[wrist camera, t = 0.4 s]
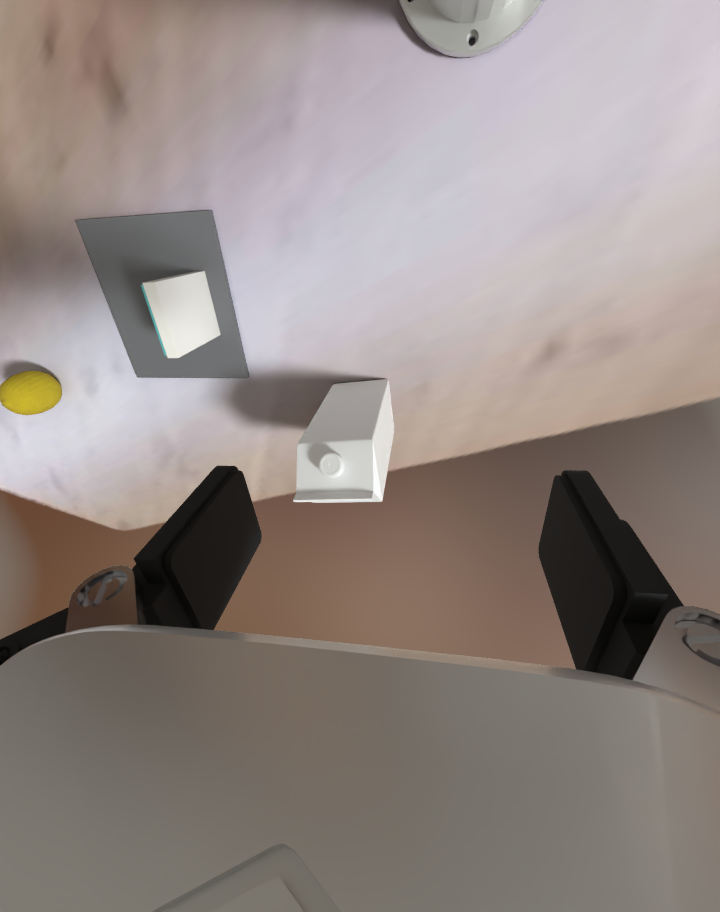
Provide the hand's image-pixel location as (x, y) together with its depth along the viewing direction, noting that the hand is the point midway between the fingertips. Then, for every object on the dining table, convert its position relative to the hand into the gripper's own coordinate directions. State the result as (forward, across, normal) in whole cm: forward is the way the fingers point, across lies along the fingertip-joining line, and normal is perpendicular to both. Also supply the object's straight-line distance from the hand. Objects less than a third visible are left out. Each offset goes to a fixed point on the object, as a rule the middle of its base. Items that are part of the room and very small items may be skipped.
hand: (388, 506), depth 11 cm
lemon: (+35, +52, +7) cm, 63 cm away
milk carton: (+35, +7, +12) cm, 37 cm away
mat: (+34, +29, -2) cm, 45 cm away
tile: (+34, +24, -2) cm, 42 cm away
